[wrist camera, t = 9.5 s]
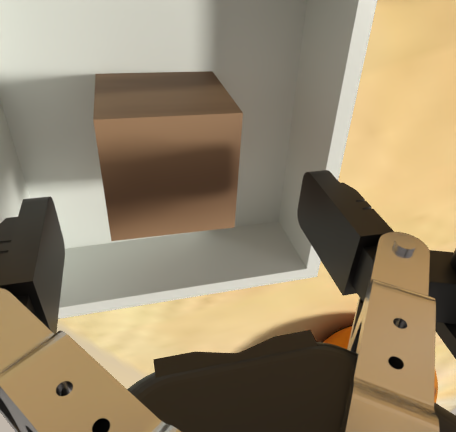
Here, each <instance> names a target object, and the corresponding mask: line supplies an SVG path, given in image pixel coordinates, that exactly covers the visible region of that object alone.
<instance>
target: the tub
mask: <svg viewBox="0 0 456 432" xmlns="http://www.w3.org/2000/svg"><path fill="white" fill-rule="evenodd" d="M376 4H377V0H0V223H1V222H2V221H3V220H4V219H5V218H10V217H18V215H19V211H20V208H21V204H22V201H23V199H29V198H39V197H52V199H53V202H54V205H55V209H56V213H57V216H58V220H59V224H60V228H61V231H62V235H63V239H64V246H65V260H64V269H63V278H62V287H61V296H60V304H59V313H58V319H60V318H67V317H73V316H79V315H85V314H91V313H97V312H103V311H109V310H116V309H122V308H128V307H134V306H140V305H146V304H152V303H159V302H165V301H171V300H177V299H183V298H189V297H195V296H201V295H208V294H214V293H220V292H226V291H232V290H238V289H244V288H251V287H257V286H263V285H269V284H275V283H281V282H287V281H293V280H300V279H306V278H312V277H317V275H318V270H319V265H320V261H321V260H320V258H319V256H318V255H317V253H316V252H315V250H314V248H313V247H312V245H311V244H310V242H309V240H308V239H307V237H306V236H305V234H304V232H303V231H302V229H301V227H300V225H299V222H298V217H297V210H298V203H299V198H300V192H301V186H302V180H303V176H304V174H305V173H306V172H312V171H322V170H328V171H330V172H331V173H332V174H333V176H334V177H335V178H336V179H337V180H338V178H339V174H340V169H341V164H342V160H343V155H344V151H345V146H346V142H347V137H348V132H349V128H350V123H351V119H352V114H353V109H354V105H355V100H356V96H357V91H358V86H359V82H360V77H361V73H362V68H363V63H364V59H365V54H366V50H367V45H368V40H369V36H370V31H371V27H372V22H373V18H374V13H375V8H376ZM206 71H213V73H214V74H215V75H216V77H217V78H218V80H219V81H220V82H221V84H222V85H223V86H224V88H225V89H226V90H227V92H228V93H229V95H230V96H231V97H232V99H233V100H234V101H235V103H236V104H237V105H238V107H239V108H240V110H241V111H242V112H243V120H242V133H241V147H240V160H239V174H238V187H237V201H236V215H235V227H234V228H225V229H216V230H207V231H199V232H190V233H181V234H172V235H163V236H154V237H145V238H136V239H127V240H118V241H111V235H110V228H109V222H108V215H107V208H106V202H105V195H104V188H103V182H102V175H101V168H100V162H99V155H98V148H97V142H96V135H95V129H94V122H93V113H94V93H95V74H109V73H157V72H206Z"/></svg>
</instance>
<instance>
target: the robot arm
mask: <svg viewBox="0 0 456 432" xmlns="http://www.w3.org/2000/svg"><path fill="white" fill-rule="evenodd" d="M297 217H298V222H299V225H300V227H301V229H302V231H303V232H304V234H305V236H306V237H307V239H308V240H309V242H310V244H311V245H312V247H313V248H314V250H315V252H316V253H317V255H318V256H319V258H320V260H321V261H322V263H323V264H324V266H325V268H326V269H327V271H328V272H329V274H330V276H331V277H332V279H333V280H334V282H335V284H336V285H337V287H338V288H339V290H340V292H341V293H342V295H348V294H354V293H357V294H358V295H359V297H360V298H359V301H358V304H357V308H356V313H355V317H354V321H353V326H352V330H351V335H350V339H349V344H348V348H347V349H345V348H342V347H340V346H336V345H333V344H329V343H323V342H316V341H315V339H314V337H313V335H312V333H311V331H310V330H308V331H303V332H297V333H292V334H287V335H281V336H276V337H273V338H271V339H268V340H266V341H264V342H262V343H260V344H258V345H255V346H253V347H251V348H249V349H247V350H245V351H242V352H240V353H212V352H191V353H186V354H180V355H175V356H170V357H164V358H159V359H154V367H155V372H154V373H152V374H150V375H148V376H146V377H144V378H143V379H141V380H139V381H138V382H136V383H135V384H134V385H132V386H131V387H130V388H129V389H126V388H125V387H124V386H123V385H121V383H119V382H118V381H117V380H116V379H115V378H114V377H113V376H112V375H111V374H110V373H109V372H107V371H106V370H105V369H104V368H103V367H102V366H101V365H100V364H99V363H98V362H97V361H95V359H94V358H92V357H91V356H90V355H89V354H88V353H87V352H86V351H85V350H84V349H83V348H81V346H79V345H78V344H77V343H76V342H75V341H74V340H73V339H72V338H71V337H70V336H69V335H67V334H66V333H65V332H63V331H58V332H57V333H56V331H57V322H58V313H59V304H60V296H61V287H62V278H63V269H64V260H65V246H64V239H63V235H62V231H61V228H60V224H59V220H58V216H57V213H56V209H55V205H54V202H53V199H52V197H39V198H29V199H23V201H22V204H21V208H20V211H19V215H18V217H10V218H5V219H4V220H3V221H2V222H1V223H0V413H1V414H2V415H3V416H4V418H5V419H6V420H7V421H8V423H9V424H10V425H11V427H12V428H13V429H14V430H15V432H456V416H455V415H454V414H452V413H450V412H449V411H447V410H446V409H444V408H442V407H441V406H439V405H438V404H436V403H434V380H435V331H436V332H437V334H438V335H439V336H440V338H441V339H442V340H443V342H444V343H445V345H446V346H447V347H448V349H449V350H450V352H451V353H452V354H453V356H454V357H455V359H456V249H455V251H454V253H453V252H442V251H432V250H429V249H428V247H427V246H426V245H425V244H424V243H423V242H422V241H421V240H419V239H418V238H416V237H414V236H412V235H409V234H406V233H401V232H394V231H393V230H392V229H391V228H390V227H389V226H388V225H387V223H386V222H385V221H384V220H383V219H382V218H381V217H380V216H379V215H378V214H377V212H376V211H375V210H374V209H371V206H370V205H369V204H368V203H367V201H365V199H364V198H363V197H362V196H361V195H360V194H359V193H358V192H357V190H355V189H353V188H352V187H350V186H348V185H346V184H345V183H340V182H339V181H338V180H337V179H336V178H335V177H334V176H333V174H332V173H331V172H330V171H328V170H322V171H312V172H306V173H305V174H304V176H303V180H302V186H301V192H300V198H299V203H298V210H297Z"/></svg>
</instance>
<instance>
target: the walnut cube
mask: <svg viewBox="0 0 456 432" xmlns="http://www.w3.org/2000/svg"><path fill="white" fill-rule="evenodd" d="M242 120H243V112H242V111H241V110H240V108H239V107H238V105H237V104H236V103H235V101H234V100H233V99H232V97H231V96H230V95H229V93H228V92H227V90H226V89H225V88H224V86H223V85H222V84H221V82H220V81H219V80H218V78H217V77H216V75H215V74H214V73H213V71H206V72H157V73H109V74H95V93H94V113H93V122H94V129H95V135H96V142H97V148H98V155H99V162H100V168H101V175H102V182H103V188H104V195H105V202H106V208H107V215H108V222H109V228H110V235H111V241H118V240H127V239H136V238H145V237H154V236H163V235H172V234H181V233H190V232H199V231H207V230H216V229H225V228H234V227H235V215H236V201H237V187H238V174H239V160H240V147H241V133H242Z"/></svg>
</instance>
